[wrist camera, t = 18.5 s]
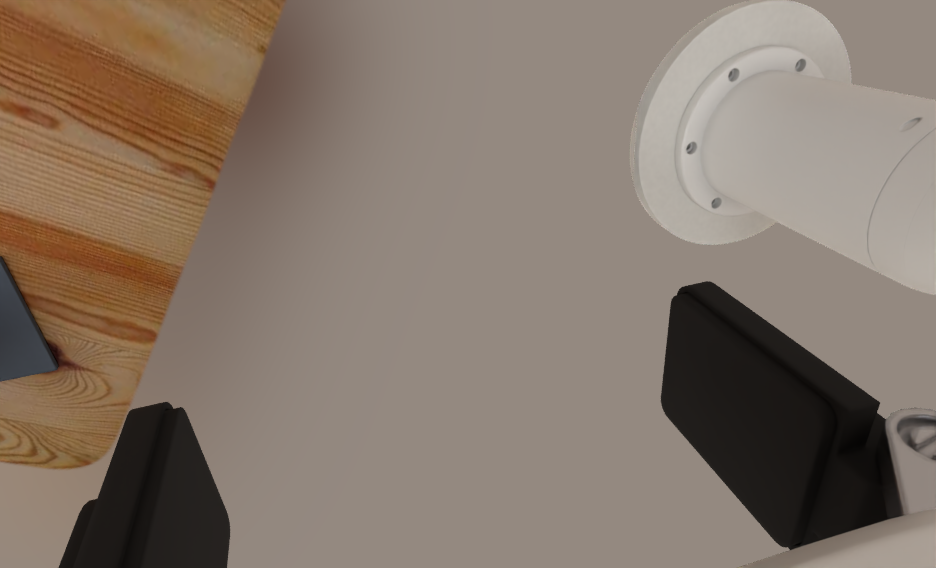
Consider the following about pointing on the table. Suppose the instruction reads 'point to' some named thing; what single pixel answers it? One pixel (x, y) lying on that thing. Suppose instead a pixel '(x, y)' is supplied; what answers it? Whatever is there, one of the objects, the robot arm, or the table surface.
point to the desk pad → (20, 335)
